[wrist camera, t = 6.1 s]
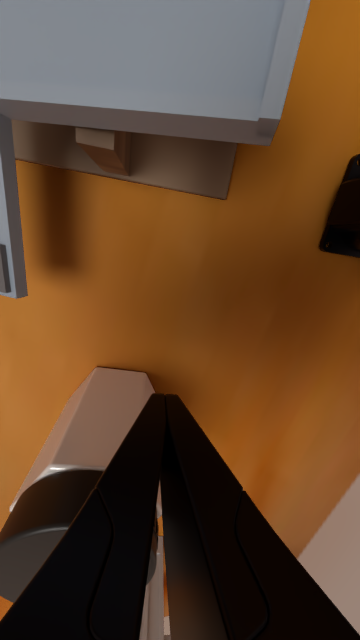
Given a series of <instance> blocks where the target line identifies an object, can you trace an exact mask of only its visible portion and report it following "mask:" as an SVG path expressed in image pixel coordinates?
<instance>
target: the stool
mask: <svg viewBox="0 0 360 640" xmlns="http://www.w3.org/2000/svg"><path fill="white" fill-rule="evenodd" d="M139 640H171V635H164V600H163V536H158V549H157V564H156V570H155V573H154V575H153V577H152V579H151V581H150V582H149V583H148V584H147V586H146V591H145V599H144V607H143V615H142V622H141V630H140V638H139Z"/></svg>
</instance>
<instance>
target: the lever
mask: <svg viewBox="0 0 360 640" xmlns="http://www.w3.org/2000/svg"><path fill="white" fill-rule="evenodd" d="M309 4H310V0H0V295H4V296H8V297H12V298H16V299H17V298H21V297H25V296H28V294H27V283H26V272H25V261H24V250H23V240H22V229H21V218H20V207H19V197H18V186H17V175H16V164H15V154H14V143H13V132H12V121H11V120H20V121H30V122H40V123H50V124H59V125H69V126H79V127H89V128H98V129H108V130H118V131H128V132H137V133H147V134H157V135H166V136H176V137H186V138H196V139H205V140H215V141H225V142H235V143H244V144H254V145H264V146H270V144H271V141H272V139H273V136H274V134H275V131H276V129H277V126H278V124H279V121H280V118H281V114H282V110H283V107H284V103H285V99H286V95H287V91H288V87H289V83H290V79H291V75H292V71H293V67H294V63H295V59H296V55H297V52H298V48H299V44H300V40H301V36H302V32H303V28H304V24H305V20H306V16H307V12H308V8H309Z"/></svg>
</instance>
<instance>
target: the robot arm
mask: <svg viewBox="0 0 360 640" xmlns="http://www.w3.org/2000/svg"><path fill="white" fill-rule="evenodd" d="M358 160H359V165H357V161H358ZM327 243H329V245H328V247H327V248H326V244H327ZM319 247H320V250H321V251H324V252H330V253H336V254H342V255H347V256H353V257H359V258H360V154H358V155H356V156H354V157H353V158H352V159H351V160H350V162H349V165H348V168H347V171H346V173H345V176H344V179H343V182H342V184H341V186H340V188H339V191H338V194H337V196H336V199H335V202H334V205H333V207H332V210H331V213H330V216H329V218H328V223H327V226H326V228H325V231H324V234H323V236H322V239H321V242H320V246H319ZM159 482H160V490H161V505H162V519H163V534H164V548H165V563H166V577H167V591H168V606H169V620H170V635H171V640H360V635H359V634H358V633H357V631H356V630H355V629H354V628H353V627H352V625H351V624H350V623H349V622H348V621H347V619H346V618H345V617H344V616H343V615H342V613H341V612H340V611H339V610H338V608H337V607H336V606H335V605H334V604H333V603H332V601H331V600H330V599H329V598H328V597H327V595H326V594H325V593H324V592H323V590H322V589H321V588H320V587H319V585H318V584H317V583H316V582H315V581H314V579H313V578H312V577H311V576H310V575H309V574H308V572H307V571H306V570H305V569H304V567H303V566H302V565H301V564H300V563H299V561H298V560H297V559H296V558H295V556H294V555H293V554H292V553H291V551H290V550H289V549H288V548H287V546H286V545H285V544H284V543H283V541H282V540H281V539H280V538H279V536H278V535H277V534H276V533H275V531H274V530H273V529H272V527H271V526H270V525H269V523H268V522H267V520H266V519H265V518H264V516H263V515H262V514H261V512H260V511H259V510H258V508H257V507H256V506H255V504H254V503H253V501H252V500H251V498H250V497H249V496H248V494H247V493H246V491H243V487H242V486H241V484H240V483H239V482H238V480H237V479H236V477H235V476H234V474H233V473H232V472H231V470H230V469H229V467H228V466H227V464H226V463H225V462H224V460H223V459H222V457H221V456H220V455H219V453H218V452H217V450H216V449H215V447H214V446H213V445H212V443H211V442H210V440H209V439H208V437H207V436H206V435H205V433H204V432H203V430H202V429H201V428H200V426H199V425H198V423H197V422H196V420H195V419H194V418H193V416H192V415H191V413H190V412H189V410H188V409H187V408H186V406H185V405H184V403H183V402H182V401H181V399H180V398H179V396H178V395H174V394H166V395H164V394H160V393H152V394H151V396H150V397H149V399H148V401H147V402H146V404H145V406H144V407H143V409H142V410H141V412H140V414H139V415H138V417H137V419H136V420H135V422H134V423H133V425H132V427H131V428H130V430H129V432H128V433H127V435H126V437H125V438H124V440H123V441H122V443H121V445H120V446H119V448H118V450H117V451H116V453H115V454H114V456H113V458H112V459H111V461H110V463H109V464H108V466H107V467H106V469H105V471H104V472H103V474H102V476H101V477H100V479H99V480H98V482H97V484H96V485H95V489H93V490H92V492H91V493H90V495H89V496H88V498H87V500H86V501H85V503H84V505H83V506H82V508H81V509H80V511H79V512H78V514H77V515H76V517H75V518H74V520H73V522H72V523H71V525H70V526H69V528H68V529H67V531H66V532H65V534H64V535H63V537H62V538H61V539H60V541H59V542H58V544H57V545H56V546H55V548H54V549H53V551H52V552H51V553H50V555H49V556H48V558H47V559H46V560H45V562H44V563H43V565H42V566H41V567H40V569H39V570H38V571H37V573H36V574H35V575H34V577H33V578H32V579H31V581H30V582H29V583H28V585H27V586H26V587H25V589H24V590H23V591H22V593H21V594H20V595H19V597H18V598H17V599H16V601H15V602H14V603H13V605H12V606H11V607H10V609H9V610H8V611H7V613H6V614H5V615H4V617H3V618H2V619H1V621H0V640H139V638H140V630H141V622H142V615H143V607H144V599H145V591H146V583H147V576H148V568H149V560H150V552H151V544H152V537H153V529H154V521H155V513H156V505H157V498H158V490H159Z"/></svg>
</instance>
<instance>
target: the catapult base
mask: <svg viewBox="0 0 360 640" xmlns="http://www.w3.org/2000/svg"><path fill="white" fill-rule="evenodd" d="M11 121H12V132H13V143H14V154H15V159H16V160H21V161H26V162H32V163H37V164H42V165H47V166H52V167H57V168H62V169H68V170H73V171H78V172H83V173H88V174H93V175H98V176H104V177H109V178H114V179H119V180H124V181H129V182H134V183H140V184H145V185H150V186H155V187H160V188H165V189H170V190H176V191H181V192H186V193H191V194H196V195H201V196H206V197H212V198H217V199H222V200H225V199H226V197H227V192H228V187H229V182H230V177H231V172H232V168H233V163H234V158H235V153H236V148H237V143H235V142H225V141H215V140H205V139H196V138H186V137H176V136H166V135H157V134H147V133H137V132H128V131H118V130H108V129H98V128H89V127H79V126H69V125H59V124H50V123H40V122H30V121H20V120H11Z"/></svg>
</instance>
